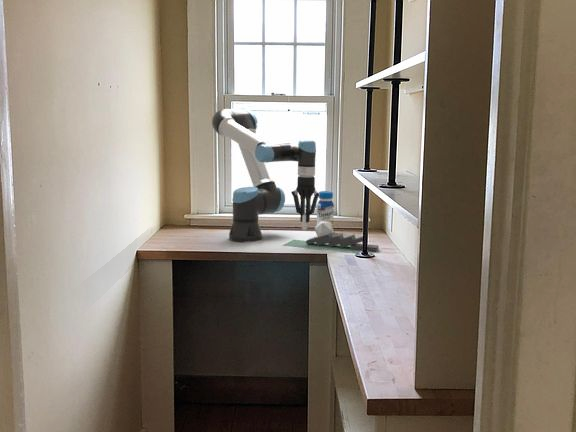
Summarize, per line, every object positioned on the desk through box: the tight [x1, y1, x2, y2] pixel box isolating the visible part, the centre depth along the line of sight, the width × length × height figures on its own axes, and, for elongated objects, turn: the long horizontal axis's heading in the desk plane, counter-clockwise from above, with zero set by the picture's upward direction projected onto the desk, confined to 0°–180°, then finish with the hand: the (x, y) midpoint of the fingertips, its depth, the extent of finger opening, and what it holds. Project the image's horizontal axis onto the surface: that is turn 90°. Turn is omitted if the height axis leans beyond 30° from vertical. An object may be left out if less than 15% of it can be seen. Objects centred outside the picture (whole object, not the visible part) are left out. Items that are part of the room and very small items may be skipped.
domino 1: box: [305, 232, 334, 245], centre depth 260 cm, size 2×5×11 cm
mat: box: [282, 239, 362, 255], centre depth 259 cm, size 34×14×1 cm, turn 68°
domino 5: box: [350, 243, 380, 253], centre depth 253 cm, size 2×5×11 cm
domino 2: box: [316, 233, 345, 246], centre depth 259 cm, size 2×5×11 cm
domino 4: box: [340, 235, 364, 248], centre depth 255 cm, size 2×5×11 cm
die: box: [314, 221, 335, 237], centre depth 277 cm, size 8×9×10 cm
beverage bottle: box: [316, 190, 335, 228], centre depth 289 cm, size 8×8×20 cm
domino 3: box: [328, 233, 357, 247], centre depth 257 cm, size 2×5×11 cm
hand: (304, 229), depth 263 cm, fingers closed
